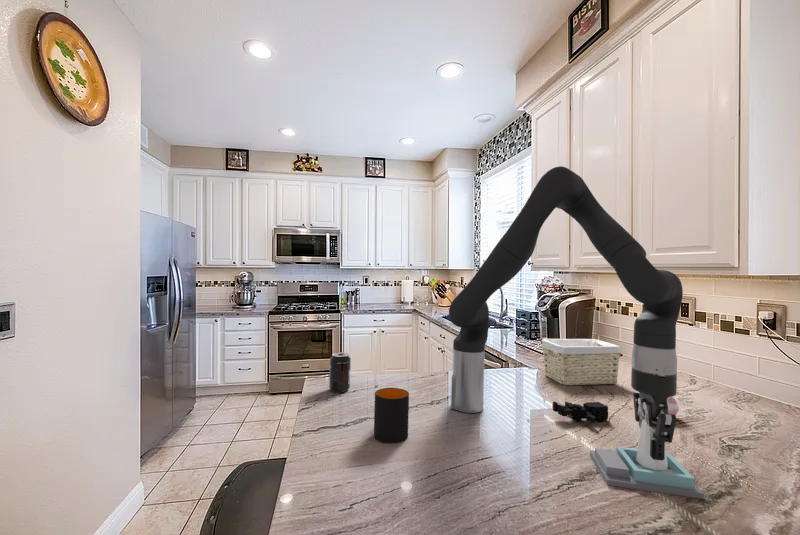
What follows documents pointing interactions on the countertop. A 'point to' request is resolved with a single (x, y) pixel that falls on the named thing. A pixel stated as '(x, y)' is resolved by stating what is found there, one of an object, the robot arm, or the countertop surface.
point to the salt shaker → (644, 450)
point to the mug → (391, 415)
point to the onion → (672, 405)
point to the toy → (583, 411)
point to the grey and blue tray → (643, 473)
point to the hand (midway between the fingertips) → (651, 452)
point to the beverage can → (340, 372)
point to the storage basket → (581, 361)
